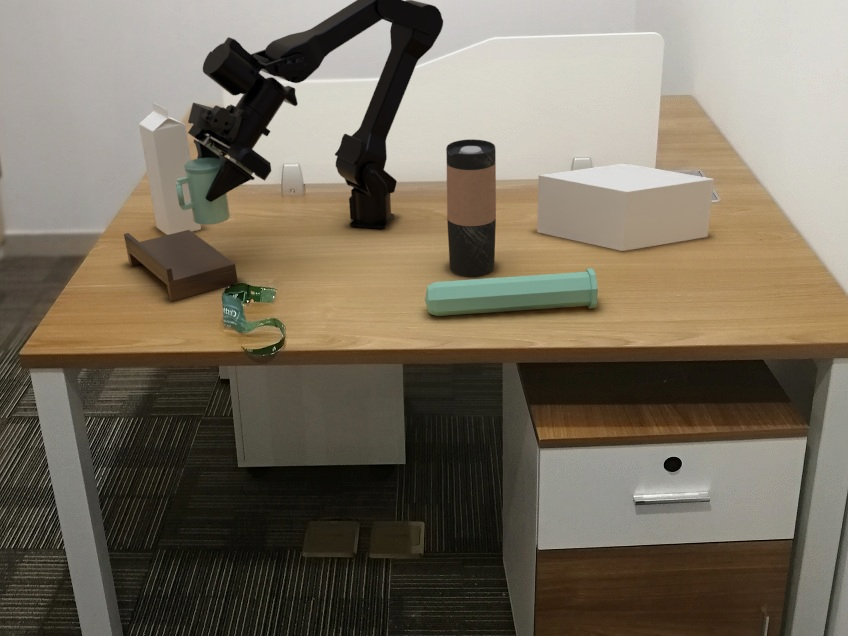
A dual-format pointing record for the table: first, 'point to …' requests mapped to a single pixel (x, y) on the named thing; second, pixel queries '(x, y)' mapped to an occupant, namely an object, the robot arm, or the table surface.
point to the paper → (624, 206)
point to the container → (512, 293)
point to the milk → (167, 169)
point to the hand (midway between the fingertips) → (199, 195)
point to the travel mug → (471, 206)
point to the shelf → (182, 263)
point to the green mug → (202, 192)
